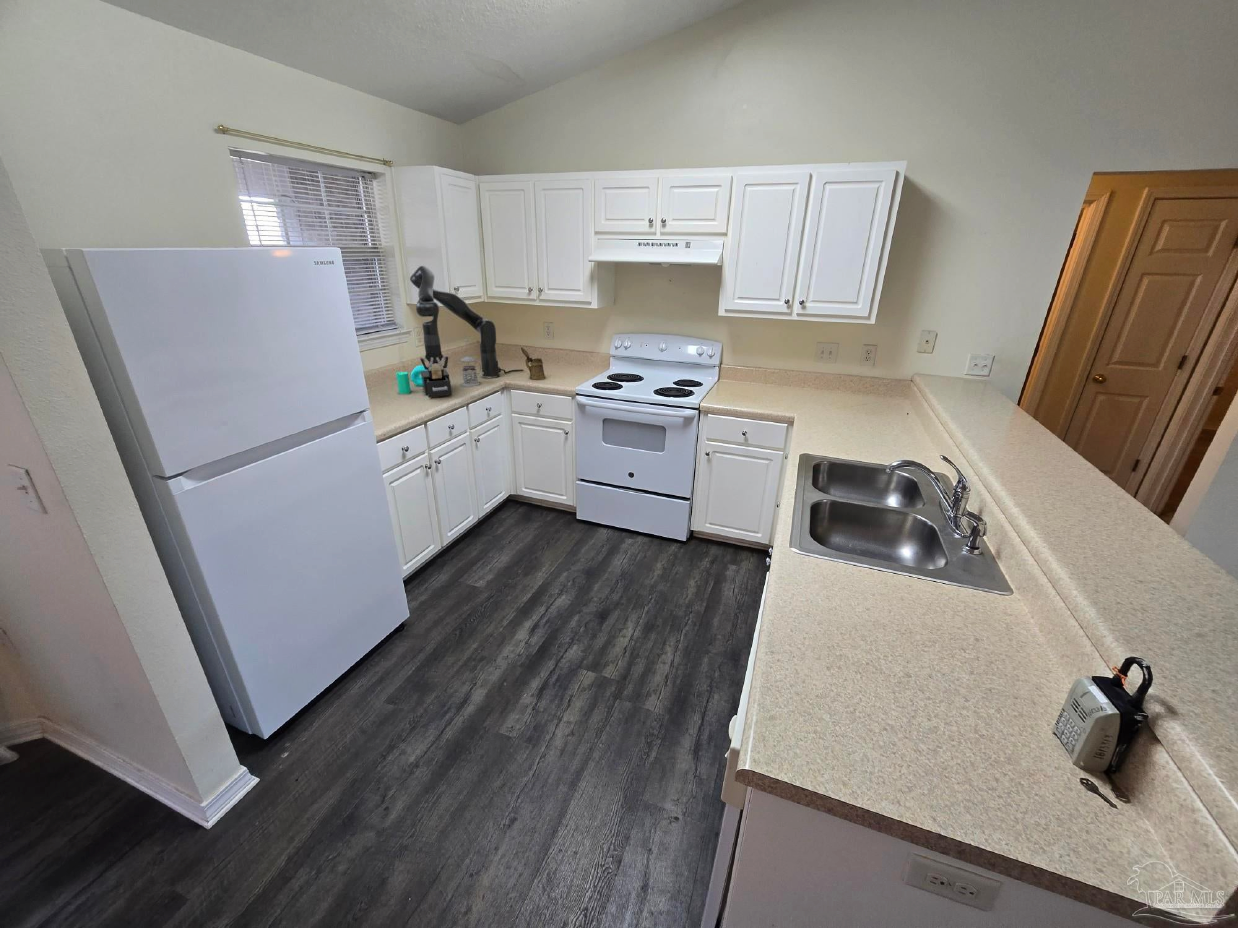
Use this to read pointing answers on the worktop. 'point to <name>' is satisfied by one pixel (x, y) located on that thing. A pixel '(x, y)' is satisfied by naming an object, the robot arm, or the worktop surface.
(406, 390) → the candle
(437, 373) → the block
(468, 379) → the french press
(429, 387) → the drawer
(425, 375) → the box
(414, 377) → the donuts
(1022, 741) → the worktop surface
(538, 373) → the wooden mug
